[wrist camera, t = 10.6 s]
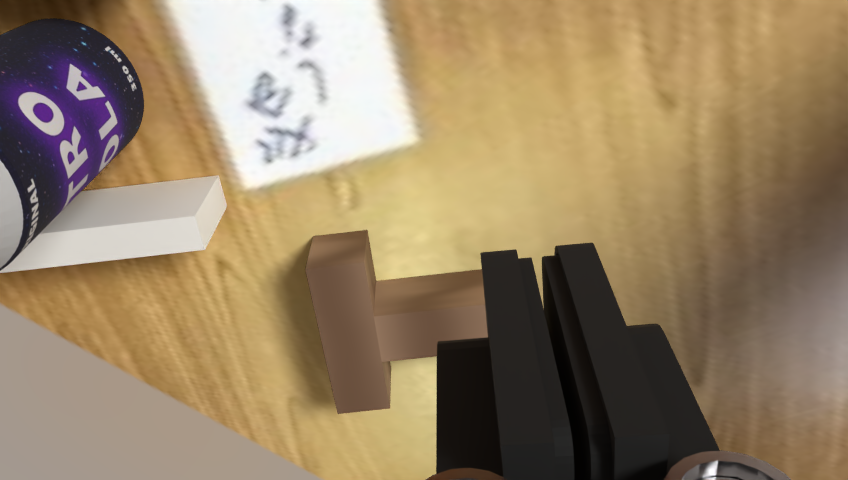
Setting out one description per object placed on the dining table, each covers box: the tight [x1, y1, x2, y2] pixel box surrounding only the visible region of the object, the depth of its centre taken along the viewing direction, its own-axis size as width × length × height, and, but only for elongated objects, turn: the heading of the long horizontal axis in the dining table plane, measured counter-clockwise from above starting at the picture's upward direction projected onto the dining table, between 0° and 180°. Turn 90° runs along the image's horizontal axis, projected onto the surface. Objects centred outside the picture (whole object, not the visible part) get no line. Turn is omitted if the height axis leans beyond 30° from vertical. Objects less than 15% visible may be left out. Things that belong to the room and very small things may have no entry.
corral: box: [0, 175, 227, 273], centre depth 27 cm, size 10×12×4 cm
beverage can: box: [0, 18, 144, 271], centre depth 24 cm, size 6×6×12 cm
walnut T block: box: [305, 230, 488, 414], centre depth 33 cm, size 8×8×3 cm
